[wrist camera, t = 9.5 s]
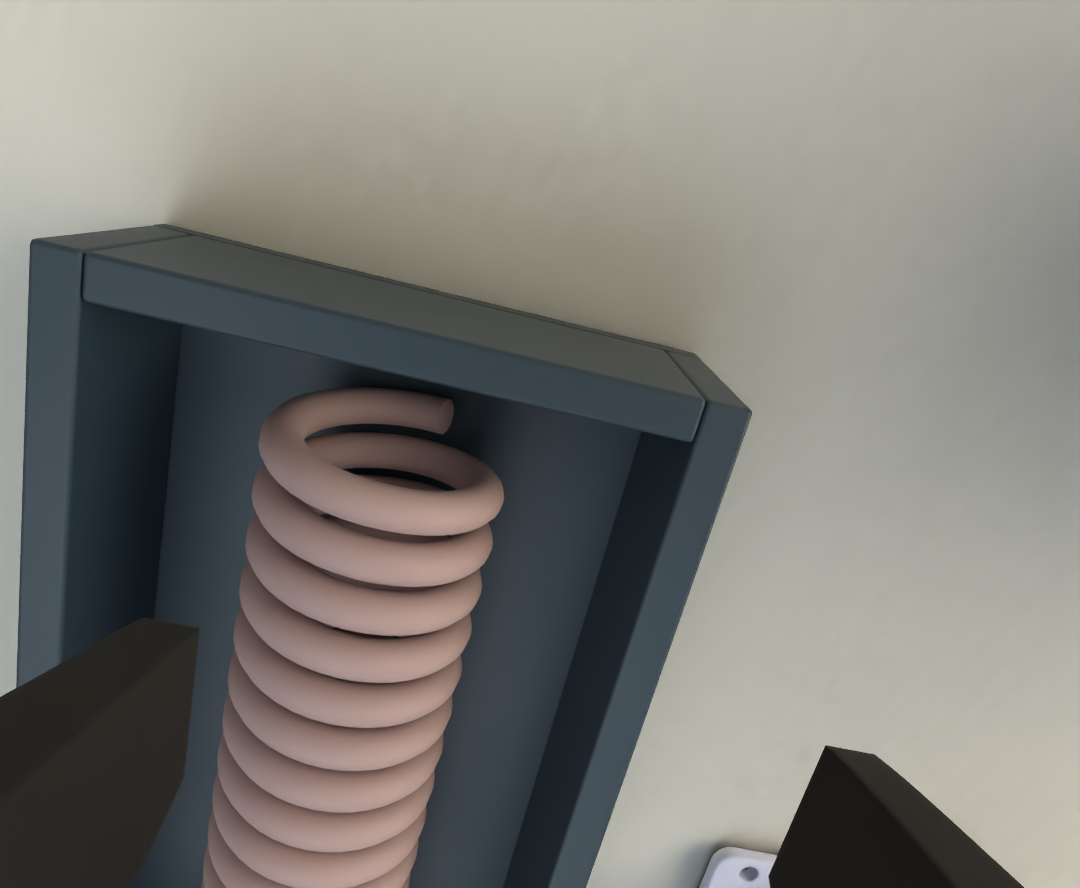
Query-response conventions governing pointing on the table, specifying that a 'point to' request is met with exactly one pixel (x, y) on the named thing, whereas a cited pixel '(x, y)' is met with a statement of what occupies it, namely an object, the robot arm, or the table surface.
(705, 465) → the bin
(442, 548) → the coil
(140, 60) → the table surface
